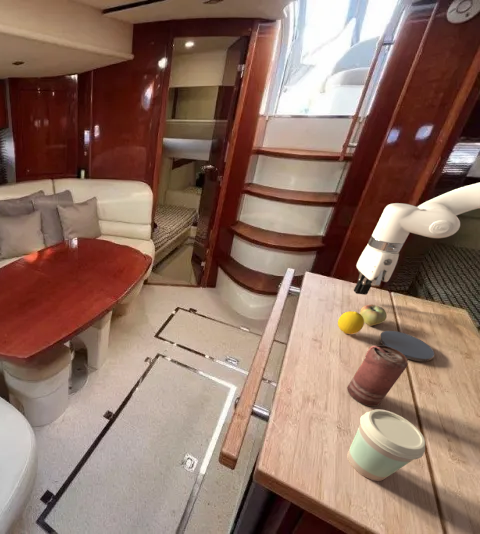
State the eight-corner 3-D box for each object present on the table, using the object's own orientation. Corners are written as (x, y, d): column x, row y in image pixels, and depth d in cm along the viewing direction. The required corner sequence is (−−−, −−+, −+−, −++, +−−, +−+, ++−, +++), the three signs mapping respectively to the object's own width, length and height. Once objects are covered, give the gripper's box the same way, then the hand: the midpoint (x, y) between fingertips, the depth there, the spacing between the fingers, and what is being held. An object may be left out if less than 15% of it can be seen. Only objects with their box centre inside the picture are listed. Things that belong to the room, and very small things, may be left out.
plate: (415, 337, 89) (417, 334, 88) (442, 366, 80) (445, 362, 79) (370, 331, 92) (372, 327, 91) (391, 358, 82) (394, 354, 82)
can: (348, 380, 77) (374, 339, 70) (381, 397, 72) (412, 354, 65) (341, 394, 73) (367, 352, 66) (375, 412, 69) (407, 369, 62)
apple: (383, 320, 96) (392, 305, 93) (378, 332, 91) (388, 317, 88) (359, 311, 100) (367, 297, 97) (353, 322, 95) (362, 308, 92)
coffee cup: (394, 462, 60) (428, 425, 54) (394, 500, 54) (432, 464, 48) (340, 434, 65) (366, 398, 59) (335, 466, 59) (362, 430, 53)
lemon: (332, 324, 95) (343, 304, 91) (355, 330, 92) (367, 309, 88) (334, 335, 91) (345, 314, 87) (358, 342, 88) (370, 320, 84)
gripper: (415, 256, 87) (385, 307, 96) (385, 235, 99) (361, 282, 108) (384, 253, 89) (357, 304, 98) (358, 233, 101) (337, 280, 110)
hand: (359, 292), depth 103 cm, fingers closed
